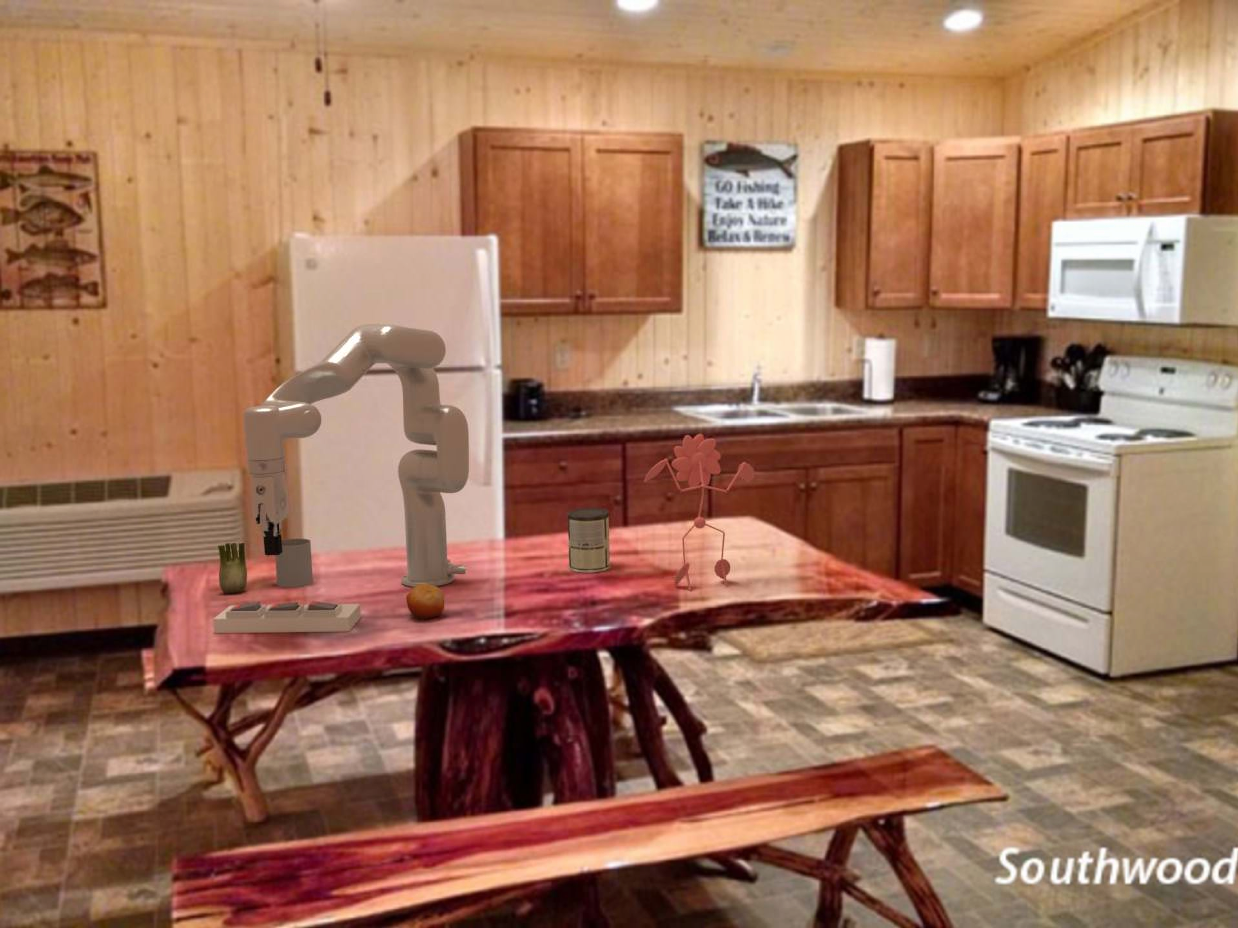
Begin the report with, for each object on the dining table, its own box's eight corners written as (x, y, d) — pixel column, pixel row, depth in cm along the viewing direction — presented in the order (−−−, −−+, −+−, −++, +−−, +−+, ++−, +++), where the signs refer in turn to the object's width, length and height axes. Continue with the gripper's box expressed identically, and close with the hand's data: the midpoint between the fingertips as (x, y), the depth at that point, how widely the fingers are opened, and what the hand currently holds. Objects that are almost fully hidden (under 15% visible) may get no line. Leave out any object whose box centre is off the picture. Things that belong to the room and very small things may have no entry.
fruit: (428, 601, 262) (436, 574, 257) (444, 625, 257) (453, 599, 253) (395, 608, 257) (403, 580, 252) (411, 633, 252) (419, 606, 248)
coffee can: (562, 566, 297) (560, 510, 295) (599, 561, 301) (598, 506, 299) (578, 575, 288) (577, 517, 285) (617, 569, 292) (616, 513, 290)
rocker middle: (298, 607, 249) (297, 601, 249) (294, 611, 246) (293, 605, 246) (275, 609, 250) (274, 603, 249) (270, 614, 246) (269, 608, 246)
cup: (303, 588, 281) (300, 546, 279) (270, 587, 282) (268, 545, 281) (318, 579, 289) (316, 538, 287) (287, 578, 290) (284, 538, 289)
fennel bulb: (249, 589, 280) (245, 539, 279) (243, 595, 276) (240, 544, 274) (224, 590, 280) (220, 540, 278) (218, 595, 275) (214, 545, 274)
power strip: (360, 617, 255) (359, 597, 255) (349, 631, 245) (347, 610, 245) (231, 619, 256) (229, 599, 255) (214, 632, 246) (212, 612, 245)
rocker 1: (260, 606, 250) (259, 600, 249) (255, 611, 246) (254, 605, 246) (237, 611, 250) (236, 605, 250) (232, 615, 247) (231, 609, 246)
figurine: (762, 583, 276) (759, 433, 271) (658, 595, 268) (653, 441, 263) (734, 570, 290) (731, 427, 285) (634, 581, 282) (630, 434, 277)
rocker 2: (336, 609, 249) (336, 603, 249) (332, 614, 246) (332, 608, 246) (312, 606, 249) (313, 600, 249) (308, 610, 246) (308, 604, 246)
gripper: (273, 472, 236) (280, 563, 239) (295, 460, 250) (302, 545, 254) (236, 473, 236) (243, 563, 239) (260, 461, 251) (267, 546, 254)
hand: (273, 554), depth 246 cm, fingers closed
